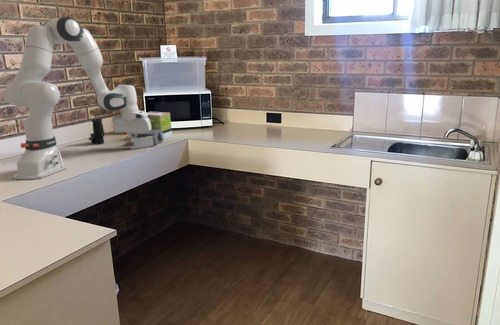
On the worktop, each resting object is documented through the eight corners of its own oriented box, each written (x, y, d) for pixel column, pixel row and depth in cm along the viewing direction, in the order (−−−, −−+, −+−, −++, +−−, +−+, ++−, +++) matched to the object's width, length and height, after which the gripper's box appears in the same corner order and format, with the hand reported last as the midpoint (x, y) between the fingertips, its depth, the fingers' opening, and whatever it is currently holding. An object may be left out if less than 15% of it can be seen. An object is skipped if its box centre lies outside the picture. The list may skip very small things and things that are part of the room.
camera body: (159, 145, 220) (157, 132, 218) (131, 145, 223) (129, 132, 221) (166, 140, 232) (165, 127, 230) (139, 140, 234) (138, 128, 232)
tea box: (141, 138, 239) (138, 113, 235) (153, 135, 247) (150, 111, 243) (161, 140, 232) (159, 114, 228) (172, 136, 240) (170, 111, 236)
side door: (156, 145, 219) (155, 136, 217) (131, 149, 213) (130, 139, 212) (155, 144, 221) (154, 135, 219) (130, 148, 215) (129, 138, 213)
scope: (98, 117, 235) (107, 118, 228) (101, 140, 238) (110, 142, 232) (84, 119, 229) (93, 121, 222) (88, 143, 233) (97, 145, 226)
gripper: (108, 116, 213) (112, 142, 216) (146, 115, 210) (149, 141, 214) (114, 114, 219) (117, 139, 222) (150, 113, 216) (153, 138, 220)
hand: (133, 140), depth 218 cm, fingers closed
